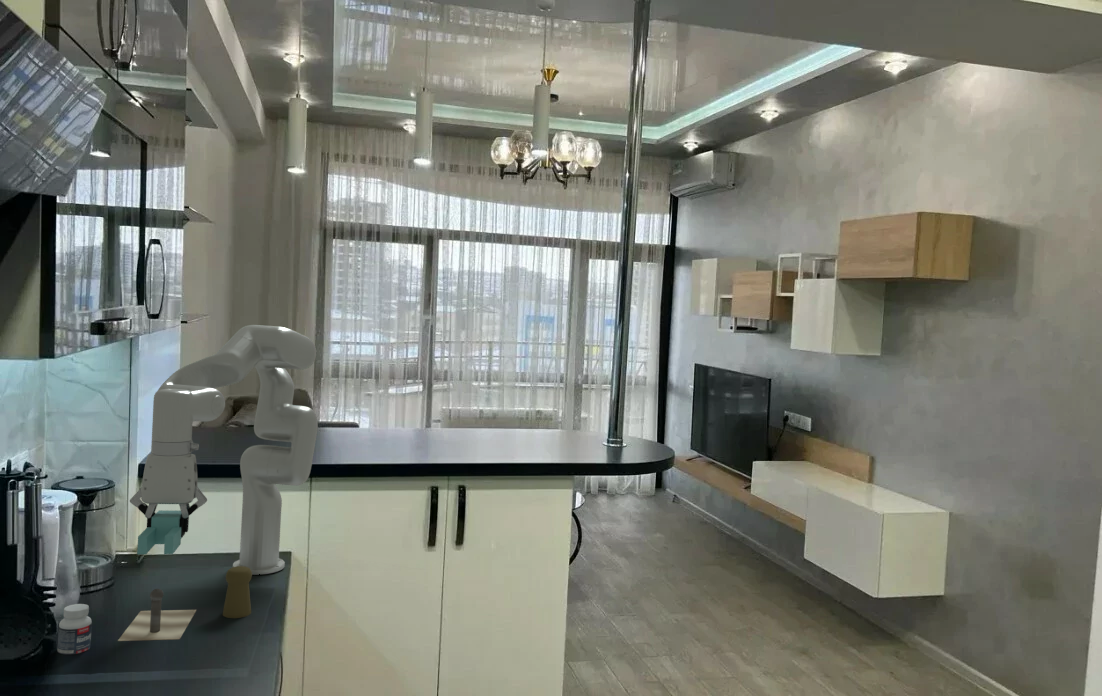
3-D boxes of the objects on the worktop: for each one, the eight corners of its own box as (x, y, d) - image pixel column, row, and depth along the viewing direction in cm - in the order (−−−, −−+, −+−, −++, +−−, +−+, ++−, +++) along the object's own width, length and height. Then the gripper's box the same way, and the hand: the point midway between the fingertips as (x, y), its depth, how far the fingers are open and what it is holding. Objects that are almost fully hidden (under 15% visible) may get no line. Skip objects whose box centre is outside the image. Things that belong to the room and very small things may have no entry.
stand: (140, 616, 167) (142, 571, 167) (196, 615, 169) (198, 570, 169) (117, 647, 151) (119, 597, 151) (179, 645, 154) (181, 596, 154)
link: (154, 536, 167) (155, 510, 166) (186, 536, 168) (188, 510, 168) (137, 554, 154) (138, 526, 154) (172, 554, 155) (174, 526, 155)
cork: (241, 625, 165) (243, 573, 165) (215, 621, 166) (218, 569, 166) (257, 615, 171) (260, 565, 171) (232, 612, 172) (234, 562, 172)
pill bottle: (78, 661, 144) (80, 613, 144) (50, 659, 144) (52, 611, 144) (96, 650, 149) (98, 603, 149) (69, 648, 150) (71, 601, 149)
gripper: (218, 446, 170) (214, 530, 170) (131, 444, 166) (127, 531, 166) (212, 452, 162) (207, 540, 163) (121, 450, 158) (116, 540, 159)
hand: (167, 534), depth 164 cm, fingers closed on link, 5 cm apart
